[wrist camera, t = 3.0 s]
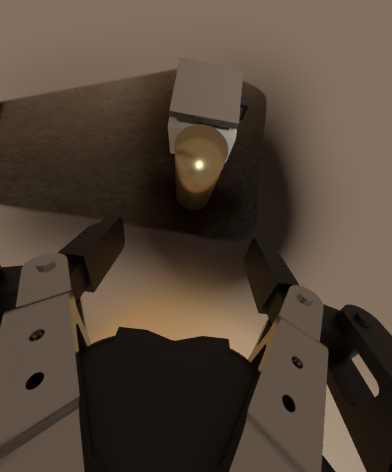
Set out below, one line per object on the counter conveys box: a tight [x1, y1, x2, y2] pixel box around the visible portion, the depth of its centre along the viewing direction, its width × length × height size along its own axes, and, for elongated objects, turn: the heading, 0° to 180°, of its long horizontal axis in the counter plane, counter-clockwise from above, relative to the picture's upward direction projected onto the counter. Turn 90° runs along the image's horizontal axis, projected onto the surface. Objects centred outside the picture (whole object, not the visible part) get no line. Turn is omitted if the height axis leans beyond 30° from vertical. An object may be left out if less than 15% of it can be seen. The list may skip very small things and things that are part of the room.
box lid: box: [169, 58, 249, 129], centre depth 23 cm, size 10×8×4 cm
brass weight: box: [174, 124, 228, 211], centre depth 20 cm, size 5×5×10 cm
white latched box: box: [168, 117, 237, 163], centre depth 25 cm, size 9×9×5 cm
